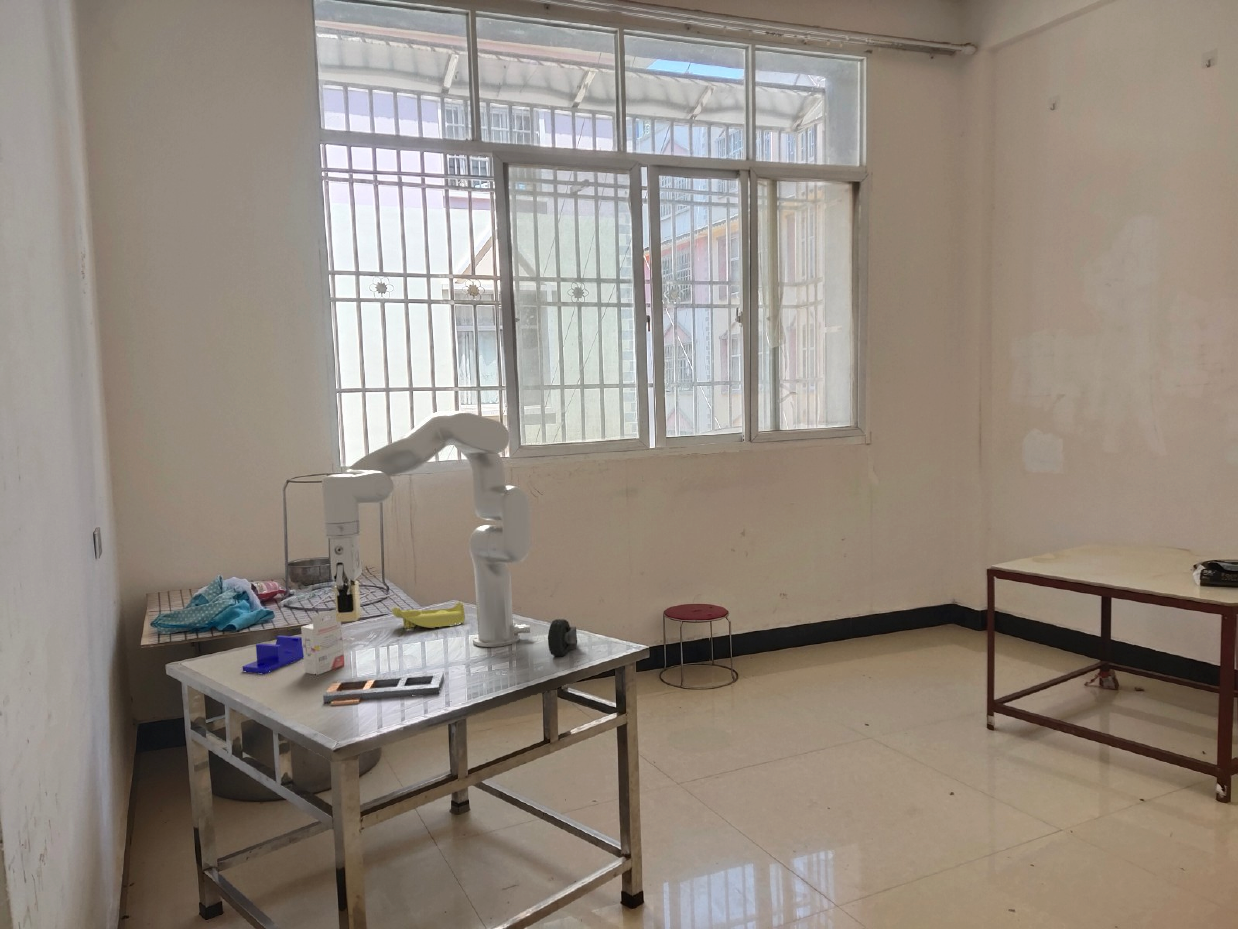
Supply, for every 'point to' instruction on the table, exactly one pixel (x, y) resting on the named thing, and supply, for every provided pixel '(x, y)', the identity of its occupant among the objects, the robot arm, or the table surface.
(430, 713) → the table surface
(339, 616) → the brass block
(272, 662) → the mounting bracket
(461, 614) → the plastic component
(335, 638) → the ink cartridge box
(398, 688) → the rail frame
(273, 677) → the table surface
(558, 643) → the caster wheel
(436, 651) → the table surface
